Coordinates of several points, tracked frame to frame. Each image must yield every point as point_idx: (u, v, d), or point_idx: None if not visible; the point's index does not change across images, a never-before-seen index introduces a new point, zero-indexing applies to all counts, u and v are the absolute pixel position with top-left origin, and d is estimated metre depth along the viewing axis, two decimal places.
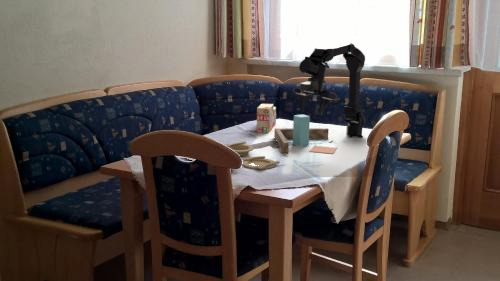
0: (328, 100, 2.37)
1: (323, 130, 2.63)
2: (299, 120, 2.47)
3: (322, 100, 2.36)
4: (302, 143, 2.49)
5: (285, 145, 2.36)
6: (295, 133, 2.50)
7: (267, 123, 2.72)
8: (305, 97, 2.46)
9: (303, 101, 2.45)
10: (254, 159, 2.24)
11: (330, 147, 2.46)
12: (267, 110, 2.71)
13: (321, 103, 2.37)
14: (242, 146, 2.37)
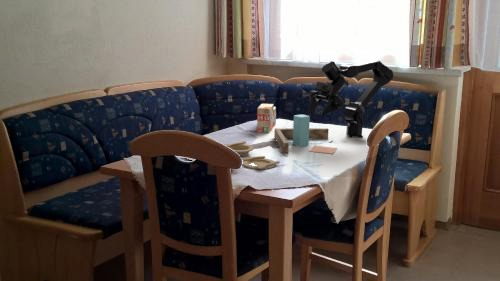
0: (335, 105, 2.48)
1: (323, 130, 2.63)
2: (299, 120, 2.47)
3: (330, 102, 2.48)
4: (302, 143, 2.49)
5: (285, 145, 2.36)
6: (295, 133, 2.50)
7: (267, 123, 2.72)
8: (316, 102, 2.59)
9: (313, 104, 2.58)
10: (254, 159, 2.24)
11: (330, 147, 2.46)
12: (267, 110, 2.71)
13: (328, 105, 2.49)
14: (242, 146, 2.37)
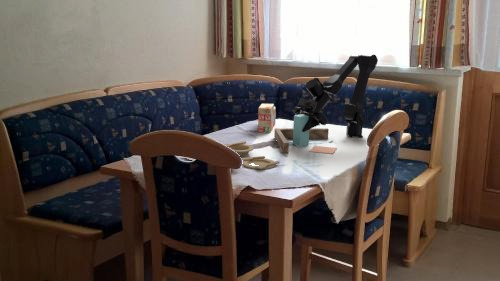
0: (316, 121, 2.46)
1: (323, 130, 2.63)
2: (299, 120, 2.47)
3: (310, 118, 2.46)
4: (302, 143, 2.49)
5: (285, 145, 2.36)
6: (295, 133, 2.50)
7: (268, 123, 2.73)
8: None
9: None
10: (254, 159, 2.24)
11: (330, 147, 2.46)
12: (268, 110, 2.71)
13: (308, 121, 2.47)
14: (242, 146, 2.37)
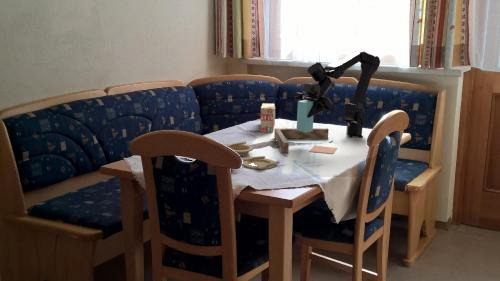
0: (321, 106, 2.43)
1: (323, 130, 2.63)
2: (304, 106, 2.43)
3: (315, 103, 2.43)
4: (307, 129, 2.46)
5: (285, 145, 2.36)
6: (299, 119, 2.46)
7: (271, 123, 2.73)
8: None
9: None
10: (254, 159, 2.24)
11: (330, 147, 2.46)
12: (271, 110, 2.72)
13: (313, 107, 2.44)
14: (242, 146, 2.37)
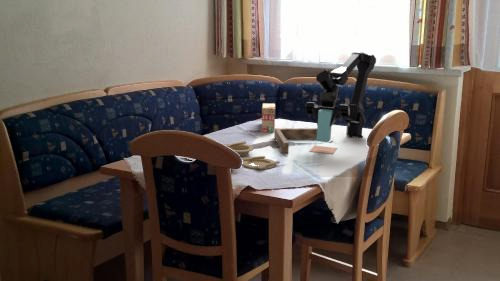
0: (340, 114, 2.40)
1: None
2: (327, 115, 2.37)
3: (336, 112, 2.39)
4: (328, 139, 2.40)
5: (285, 145, 2.36)
6: (321, 129, 2.39)
7: (272, 123, 2.73)
8: None
9: None
10: (254, 159, 2.24)
11: (330, 147, 2.46)
12: (272, 110, 2.72)
13: (334, 115, 2.39)
14: (242, 146, 2.37)
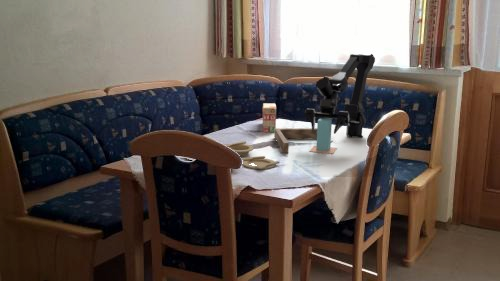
0: (344, 121, 2.40)
1: None
2: (326, 124, 2.38)
3: (340, 119, 2.39)
4: (328, 148, 2.41)
5: (285, 145, 2.36)
6: (320, 138, 2.40)
7: (274, 122, 2.74)
8: (314, 120, 2.45)
9: (314, 122, 2.43)
10: (254, 159, 2.24)
11: (330, 147, 2.46)
12: (274, 110, 2.72)
13: (338, 122, 2.39)
14: (242, 146, 2.37)
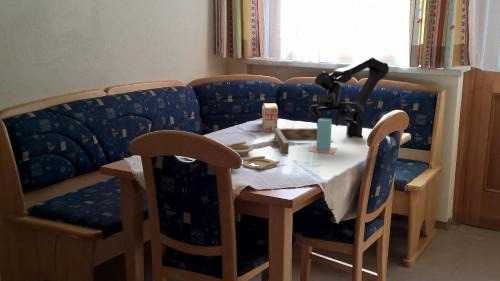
0: (345, 111, 2.48)
1: None
2: (326, 124, 2.38)
3: (340, 110, 2.47)
4: (328, 148, 2.41)
5: (285, 145, 2.36)
6: (320, 138, 2.40)
7: (275, 122, 2.74)
8: (320, 115, 2.56)
9: (319, 117, 2.54)
10: (254, 159, 2.24)
11: (330, 147, 2.46)
12: (275, 109, 2.73)
13: (339, 114, 2.47)
14: (242, 146, 2.37)
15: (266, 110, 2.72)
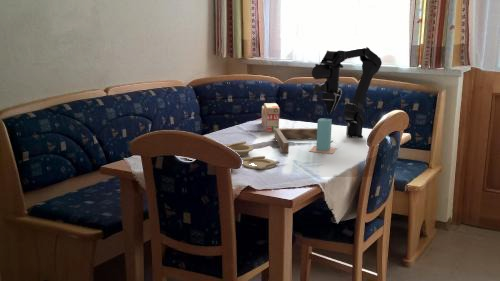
0: (328, 100, 2.49)
1: None
2: (326, 124, 2.38)
3: (324, 101, 2.51)
4: (328, 148, 2.41)
5: (285, 145, 2.36)
6: (320, 138, 2.40)
7: (277, 122, 2.75)
8: (335, 97, 2.61)
9: None
10: (254, 159, 2.24)
11: (330, 147, 2.46)
12: (277, 109, 2.73)
13: None
14: (242, 146, 2.37)
15: (268, 110, 2.73)
